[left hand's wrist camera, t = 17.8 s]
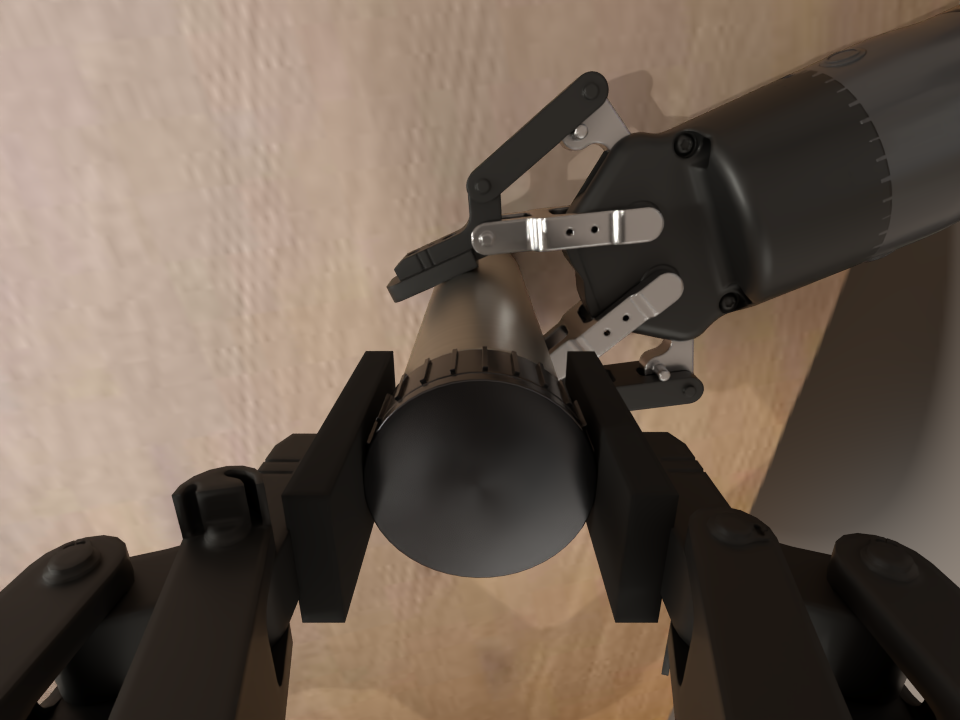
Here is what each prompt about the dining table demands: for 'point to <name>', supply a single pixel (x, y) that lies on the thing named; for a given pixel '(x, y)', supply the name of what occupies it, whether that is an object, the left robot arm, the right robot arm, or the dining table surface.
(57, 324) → the dining table surface
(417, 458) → the lid
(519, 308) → the bottle
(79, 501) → the dining table surface
